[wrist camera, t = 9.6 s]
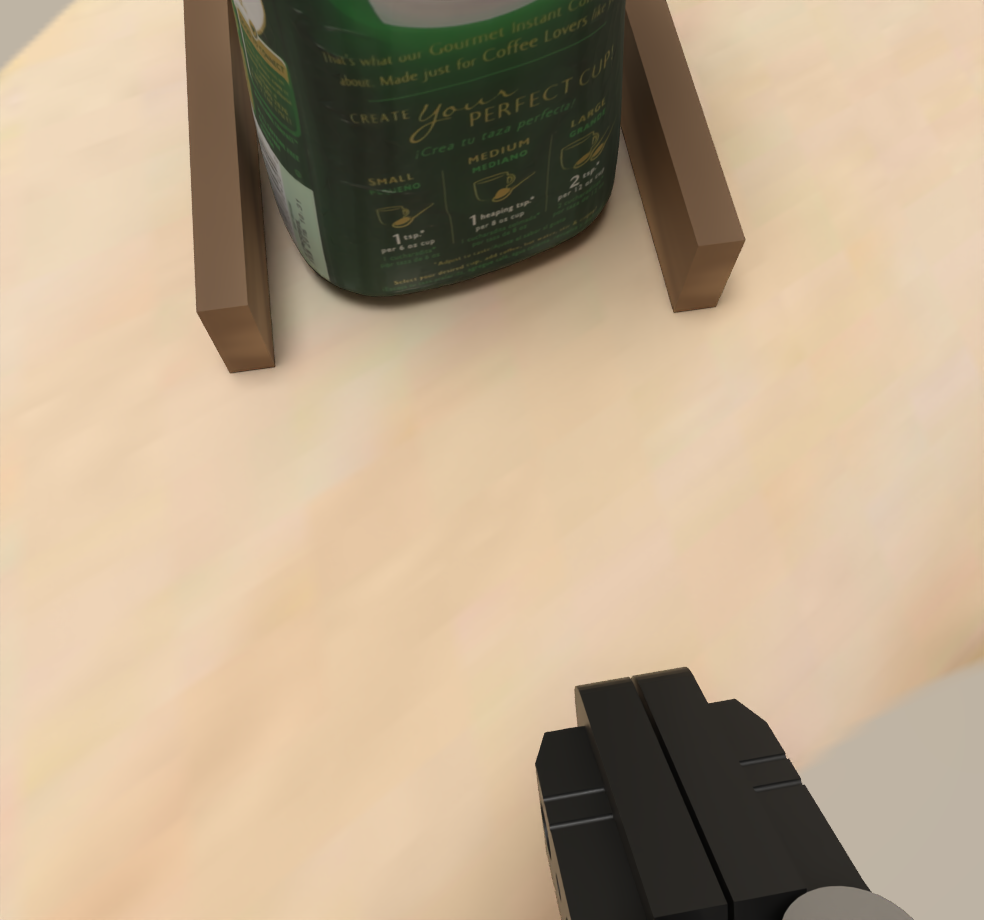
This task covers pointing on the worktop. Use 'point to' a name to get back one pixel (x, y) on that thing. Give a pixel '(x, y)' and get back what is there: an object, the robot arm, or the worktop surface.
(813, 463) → the worktop surface
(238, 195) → the wooden u-shaped frame
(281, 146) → the coffee jar
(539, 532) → the worktop surface
